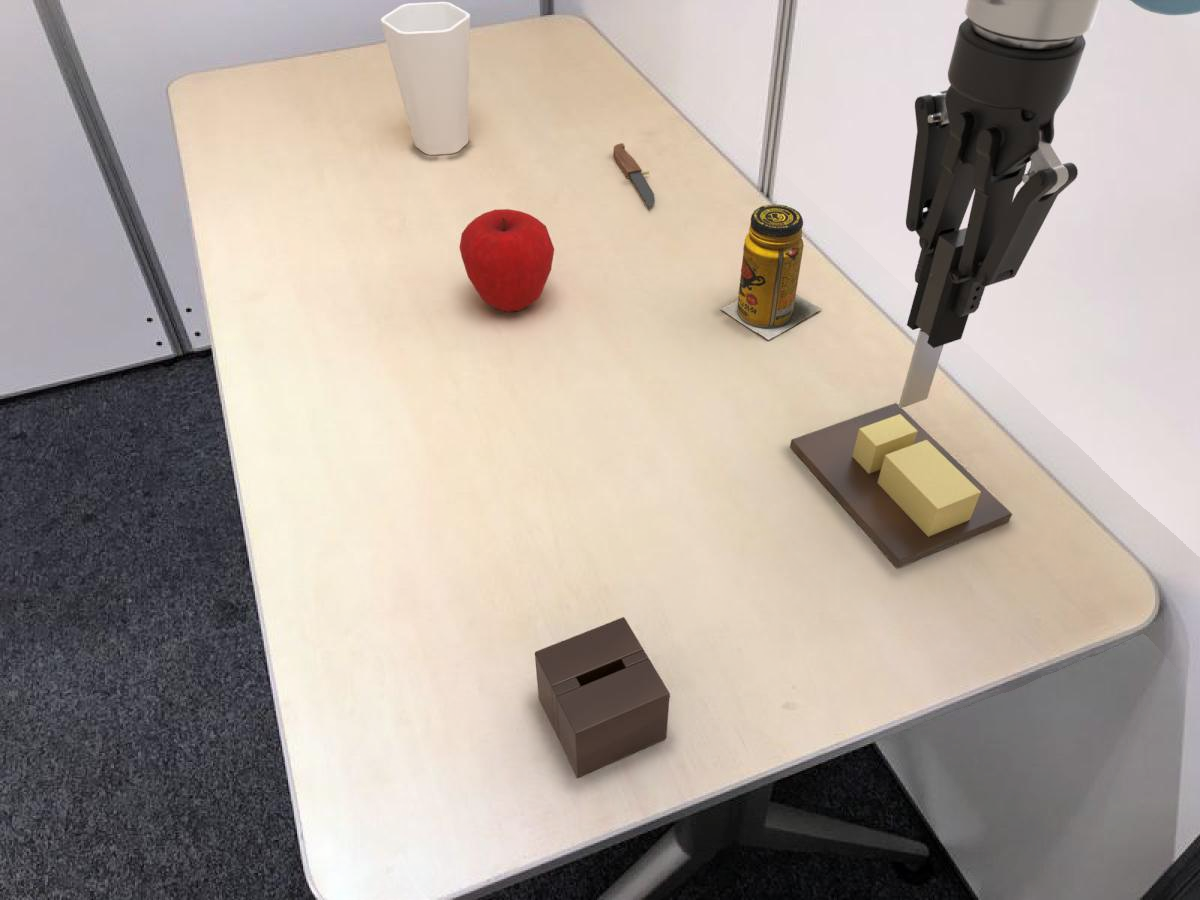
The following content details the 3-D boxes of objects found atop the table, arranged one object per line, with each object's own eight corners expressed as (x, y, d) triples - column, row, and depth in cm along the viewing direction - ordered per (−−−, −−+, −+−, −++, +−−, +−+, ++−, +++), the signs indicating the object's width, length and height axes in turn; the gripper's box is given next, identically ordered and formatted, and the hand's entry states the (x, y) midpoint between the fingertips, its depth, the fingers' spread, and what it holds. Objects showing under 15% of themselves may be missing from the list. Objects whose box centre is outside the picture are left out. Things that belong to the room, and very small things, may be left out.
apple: (572, 295, 108) (569, 209, 100) (517, 338, 102) (510, 250, 95) (504, 267, 112) (497, 181, 105) (448, 306, 107) (436, 219, 99)
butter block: (970, 519, 82) (981, 491, 80) (928, 537, 81) (938, 509, 79) (917, 467, 87) (926, 439, 85) (876, 482, 86) (884, 454, 83)
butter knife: (932, 404, 81) (985, 238, 70) (905, 413, 80) (954, 248, 69) (919, 391, 82) (968, 226, 71) (892, 401, 81) (937, 235, 70)
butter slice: (909, 458, 88) (917, 430, 85) (868, 474, 86) (876, 446, 84) (892, 441, 89) (900, 413, 87) (852, 456, 88) (859, 428, 86)
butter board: (1009, 521, 84) (1012, 513, 83) (896, 568, 80) (899, 560, 79) (893, 410, 94) (896, 402, 93) (789, 447, 90) (791, 439, 90)
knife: (672, 200, 120) (649, 204, 120) (672, 208, 121) (649, 212, 120) (628, 141, 132) (608, 144, 131) (628, 148, 132) (608, 152, 132)
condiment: (719, 310, 106) (729, 213, 97) (773, 281, 110) (787, 186, 101) (768, 341, 102) (782, 243, 93) (822, 311, 106) (840, 214, 97)
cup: (430, 120, 139) (413, -4, 127) (493, 132, 136) (481, 7, 124) (388, 154, 132) (366, 26, 120) (453, 168, 129) (437, 38, 117)
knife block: (666, 738, 69) (670, 693, 65) (577, 778, 67) (575, 734, 63) (623, 663, 74) (624, 616, 69) (538, 697, 71) (534, 651, 67)
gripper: (899, -4, 63) (838, 294, 80) (1067, 83, 53) (958, 402, 70) (989, -22, 65) (912, 271, 82) (1165, 59, 56) (1038, 373, 72)
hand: (933, 331), depth 76 cm, fingers closed on butter knife, 2 cm apart
